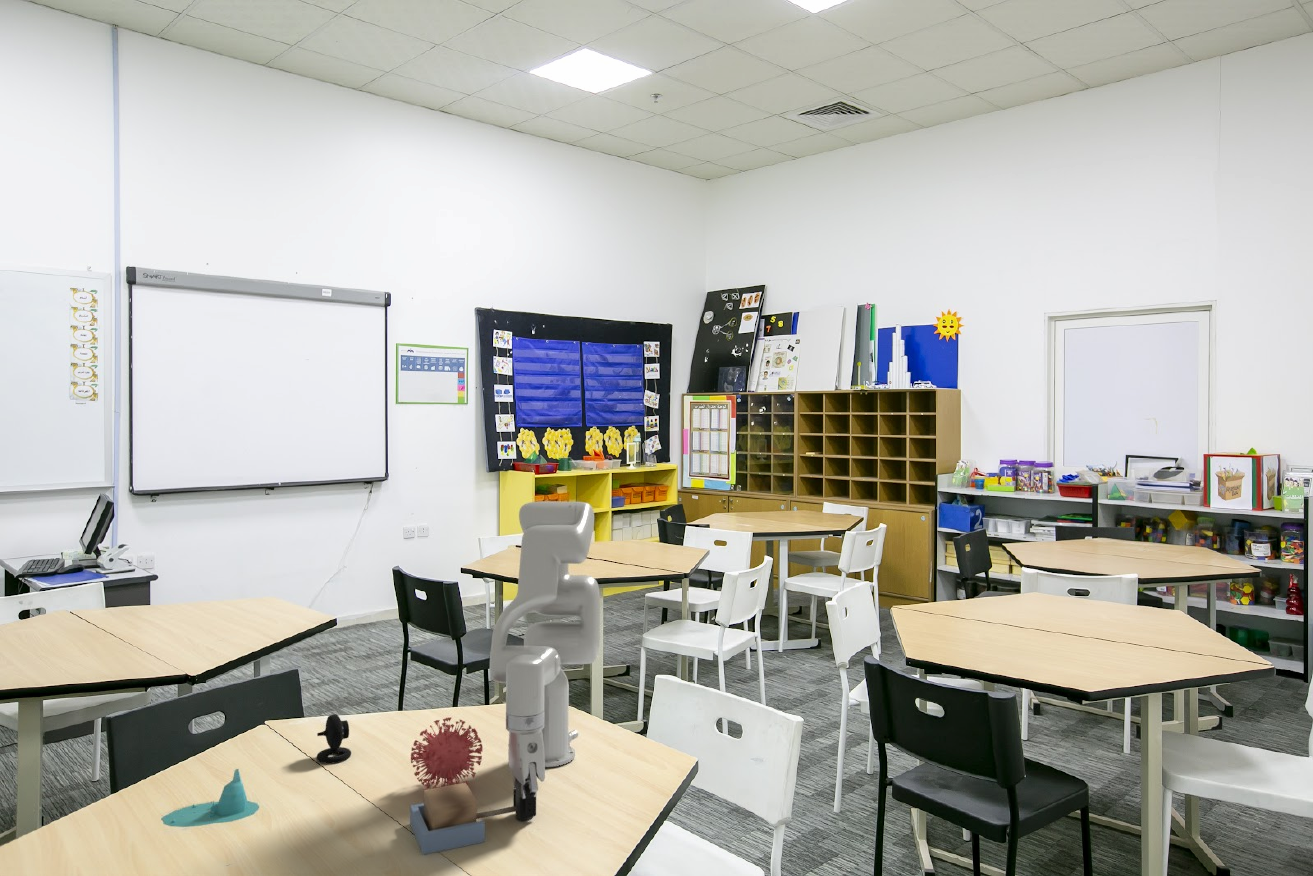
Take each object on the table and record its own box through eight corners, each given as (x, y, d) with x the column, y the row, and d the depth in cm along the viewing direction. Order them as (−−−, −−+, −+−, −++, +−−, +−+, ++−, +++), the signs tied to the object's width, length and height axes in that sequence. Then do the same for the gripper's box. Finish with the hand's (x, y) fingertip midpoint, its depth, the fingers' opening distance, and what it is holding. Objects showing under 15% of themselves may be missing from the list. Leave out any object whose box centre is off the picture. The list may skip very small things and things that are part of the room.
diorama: (163, 807, 170) (163, 765, 170) (270, 796, 175) (270, 755, 175) (143, 835, 158) (144, 789, 158) (259, 823, 164) (259, 778, 163)
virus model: (495, 780, 183) (495, 712, 183) (457, 809, 169) (457, 735, 169) (436, 771, 188) (437, 705, 188) (395, 798, 174) (396, 726, 174)
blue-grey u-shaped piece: (422, 854, 151) (422, 835, 151) (410, 823, 163) (410, 805, 163) (484, 842, 155) (484, 823, 155) (467, 812, 168) (468, 795, 168)
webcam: (354, 760, 194) (355, 716, 194) (321, 767, 190) (321, 722, 190) (346, 749, 201) (346, 707, 201) (313, 756, 197) (313, 713, 197)
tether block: (433, 847, 154) (433, 808, 153) (424, 826, 162) (424, 790, 162) (539, 825, 162) (539, 788, 162) (526, 806, 170) (526, 772, 170)
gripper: (556, 730, 160) (556, 826, 160) (530, 705, 175) (530, 793, 175) (518, 736, 157) (518, 834, 157) (495, 710, 171) (495, 799, 171)
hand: (524, 811), depth 166 cm, fingers closed on tether block, 3 cm apart
